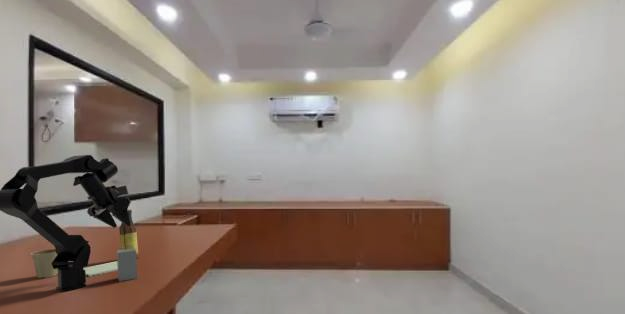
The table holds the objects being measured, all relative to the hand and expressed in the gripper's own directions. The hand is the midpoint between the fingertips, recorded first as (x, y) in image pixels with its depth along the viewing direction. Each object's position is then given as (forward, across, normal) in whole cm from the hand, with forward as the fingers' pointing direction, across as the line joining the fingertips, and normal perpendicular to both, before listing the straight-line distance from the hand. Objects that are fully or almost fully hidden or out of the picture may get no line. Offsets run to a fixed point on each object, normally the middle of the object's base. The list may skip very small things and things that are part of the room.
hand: (122, 226), depth 142 cm
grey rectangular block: (+13, -7, +11) cm, 18 cm away
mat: (+13, +15, +7) cm, 21 cm away
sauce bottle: (+20, +23, -5) cm, 30 cm away
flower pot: (+5, +25, +20) cm, 33 cm away
